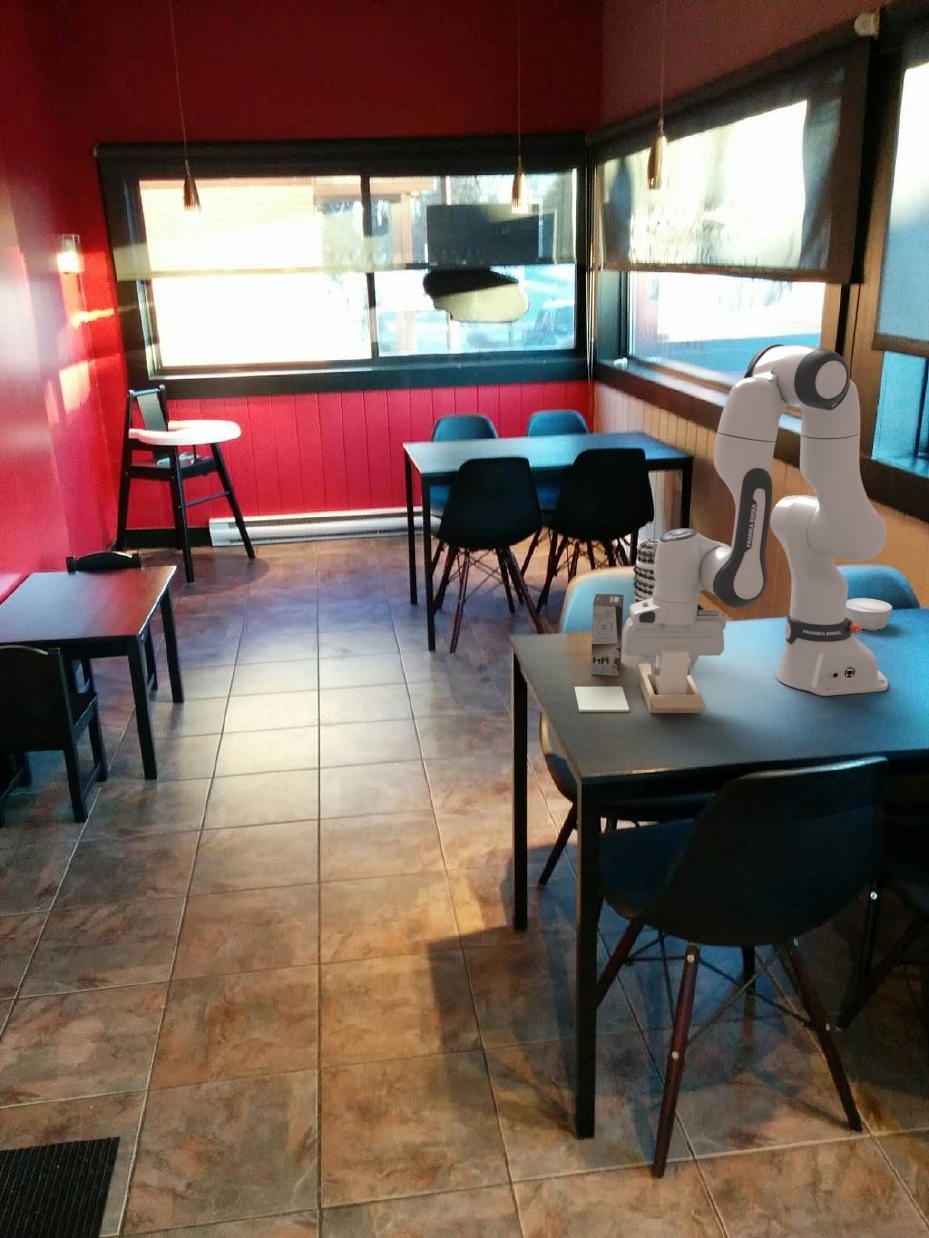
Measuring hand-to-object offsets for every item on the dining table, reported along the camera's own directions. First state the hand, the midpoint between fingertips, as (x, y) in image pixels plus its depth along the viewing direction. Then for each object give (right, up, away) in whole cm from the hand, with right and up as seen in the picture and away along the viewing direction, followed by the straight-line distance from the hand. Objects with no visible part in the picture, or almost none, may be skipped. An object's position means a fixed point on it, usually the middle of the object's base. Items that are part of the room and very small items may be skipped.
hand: (670, 674), depth 203 cm
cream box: (0, -5, +2) cm, 6 cm away
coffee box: (-10, 0, +19) cm, 22 cm away
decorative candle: (+2, +5, +34) cm, 35 cm away
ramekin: (+58, +10, +45) cm, 74 cm away
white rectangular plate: (-14, -5, +2) cm, 15 cm away
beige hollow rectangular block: (0, -5, +2) cm, 6 cm away
